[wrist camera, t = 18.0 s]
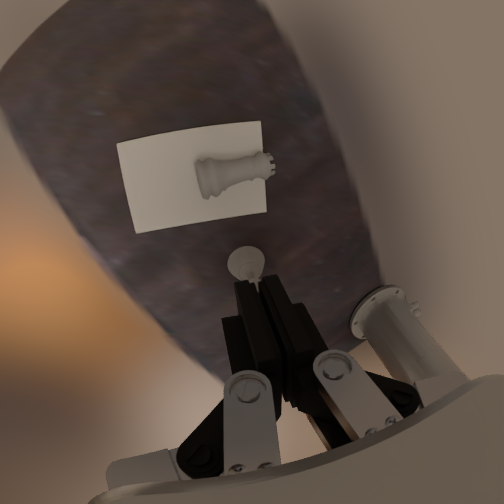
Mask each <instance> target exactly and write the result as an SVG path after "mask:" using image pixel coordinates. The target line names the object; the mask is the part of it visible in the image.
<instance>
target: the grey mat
mask: <svg viewBox="0 0 504 504" xmlns="http://www.w3.org/2000/svg"><path fill="white" fill-rule="evenodd" d="M117 150H118V155H119V161H120V166H121V171H122V176H123V181H124V185H125V190H126V194H127V199H128V203H129V207H130V211H131V215H132V219H133V223H134V227H135V231H136V234H137V233H142V232H147V231H153V230H158V229H164V228H169V227H175V226H181V225H186V224H192V223H198V222H204V221H210V220H216V219H222V218H229V217H235V216H242V215H248V214H255V213H262V212H267V210H266V193H265V180H264V179H261V178H255V179H254V180H253V181H250V180H247V181H243V182H240V183H238V184H235V185H232V186H230V187H229V188H227V189H226V191H222V193H221V194H220V195H219V196H218V197H214V196H212V195H211V196H210V198H209V200H206V199H203V198H202V195H201V192H200V188H199V185H198V181H197V177H196V172H195V166H194V163H195V162H196V161H197V160H198V159H199V160H200V161H202V162H204V160H205V159H206V158H212V159H214V160H220V161H229V160H239V159H243V158H245V157H246V156H248V157H254V156H255V155H256V154H257V153H258V152H259V151H260V152H263V146H262V132H261V121H250V122H239V123H229V124H220V125H212V126H205V127H198V128H191V129H185V130H179V131H173V132H168V133H162V134H157V135H152V136H147V137H143V138H138V139H134V140H129V141H125V142H121V143H117Z"/></svg>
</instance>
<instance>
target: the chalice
mask: <svg viewBox="0 0 504 504" xmlns="http://www.w3.org/2000/svg"><path fill="white" fill-rule="evenodd" d="M264 263H265V258H264V255H263V253H262V252H261V251H260V250H259V249H258V248H256V247H253V246H243V247H240V248H238V249H236V250H235V251H233V253H232V254H231V255H230V256H229V259H228V265H227V266H228V269H229V271H230V273H231V274H232V275H233V276H235V277H236V278H238V279H239V280H241V281H242V280H249V283H252V282H254V283H255V285H256V288H257V291H258V281H261V280H260V279H259V276H260V275H261V274H262V272H263V267H264ZM258 293H259V292H258Z"/></svg>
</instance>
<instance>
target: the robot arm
mask: <svg viewBox="0 0 504 504" xmlns="http://www.w3.org/2000/svg"><path fill="white" fill-rule="evenodd" d="M234 285H235V293H236V300H237V307H238V315H237V316H231V317H226V318H221V319H222V324H223V330H224V335H225V340H226V345H227V350H228V355H229V360H230V365H231V370H232V376H231V377H230V378H229V379H228V380H227V382H226V383H225V386H224V398H223V399H222V400H221V402H220V403H219V404H218V405H217V406H216V407H215V408H214V409H213V410H212V412H211V413H210V414H209V415H208V416H207V417H206V418H205V419H204V420H203V421H202V423H201V424H200V425H199V426H198V427H197V428H196V429H195V430H194V431H193V432H192V433H191V434H190V435H189V436H188V438H187V439H186V440H185V441H184V442H183V443H182V444H181V445H180V447H178V448H175V449H172V450H168V449H163V450H160V451H156V452H152V453H148V454H144V455H139V456H135V457H130V458H126V459H120V460H117V461H114V462H112V463H111V464H110V465H109V466H108V468H107V470H106V480H107V484H108V488H109V490H108V491H106V492H103V493H101V494H99V495H97V496H95V497H94V498H93V499H91V500H90V501H89V502H88V504H504V375H487V376H483V377H479V378H477V379H474V380H470V379H469V378H468V377H467V376H466V375H465V374H464V373H463V372H462V371H461V370H460V368H459V367H458V366H457V365H456V364H455V363H454V362H453V360H452V359H451V358H450V357H449V355H448V354H447V353H446V352H445V351H444V349H442V347H441V346H440V345H439V344H438V343H437V341H436V340H435V339H434V338H433V337H432V335H431V334H430V333H429V332H428V331H427V329H426V328H425V327H424V326H423V325H422V324H421V323H420V321H419V320H418V319H417V318H418V317H420V316H421V311H420V309H419V306H420V305H419V302H414V303H412V304H409V303H408V302H407V301H406V296H405V293H404V292H403V290H402V289H401V288H400V287H398V286H396V285H386V286H383V287H380V288H378V289H376V290H374V291H373V292H371V293H370V294H369V295H367V296H366V297H365V298H364V299H363V300H362V301H361V302H360V303H359V305H358V306H357V307H356V309H355V310H354V312H353V314H352V316H351V320H350V330H351V331H352V333H353V335H354V336H355V337H357V338H359V339H367V340H368V342H369V343H370V345H371V346H372V348H373V349H374V351H375V352H376V354H377V355H378V357H379V358H380V360H381V361H382V363H383V364H384V366H385V367H386V369H387V370H388V372H389V373H390V375H391V376H392V378H393V379H391V378H387V377H384V376H381V375H377V374H374V373H371V372H368V371H364V370H363V369H362V368H361V366H360V365H359V364H358V363H357V362H356V360H354V358H353V357H352V356H351V355H349V354H348V353H346V352H344V351H341V350H328V348H327V346H326V344H325V342H324V340H323V338H322V337H321V335H320V333H319V331H318V329H317V328H316V326H315V324H314V322H313V320H312V318H311V317H310V315H309V313H308V311H307V309H306V308H305V306H304V304H303V303H296V304H292V303H291V301H290V299H289V297H288V295H287V293H286V291H285V289H284V287H283V285H282V284H281V282H280V280H279V278H278V276H277V275H276V274H275V275H270V276H265V277H262V281H258V291H257V288H256V285H255V283H254V282H252V283H249V280H242V281H237V282H234ZM258 292H259V293H258ZM282 395H283V398H284V400H285V402H288V401H290V403H291V405H292V408H294V407H297V408H298V410H299V411H301V412H303V413H306V416H307V418H308V420H309V422H310V423H311V425H312V426H313V428H314V430H315V431H316V433H317V435H318V436H319V438H320V440H321V441H322V443H323V444H324V446H325V448H326V449H327V451H326V452H324V453H320V454H318V455H314V456H311V457H308V458H304V459H301V460H298V461H294V462H290V463H286V464H283V465H281V458H280V451H279V442H278V435H277V426H276V422H277V420H278V419H279V417H280V416H281V402H282Z"/></svg>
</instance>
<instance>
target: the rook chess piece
mask: <svg viewBox="0 0 504 504" xmlns="http://www.w3.org/2000/svg"><path fill="white" fill-rule="evenodd" d="M270 161H273V157H272V156H270V153H263V152H260V151H259V152H258V153H257V154H256V155H255V156H254V157H248V156H246V157H245V158H243V159H239V160H229V161H220V160H214V159H212V158H206V159H205V160H204V162H202V161H200V160H199V159H198V160H197V161H196V162H195V163H194V166H195V172H196V177H197V181H198V185H199V188H200V192H201V195H202V198H203V199H206V200H209V198H210V196H211V195H212V196H214V197H218V196H219V195H220V194H221V193H222V191H226V189H227V188H229V187H230V186H232V185H235V184H238V183H240V182H243V181H247V180H250V181H253V180H254V179H255V178H261V179H264V180H267V179H268V178H269V176H271V175H274V174H275V171H274V170H272V171H271V169H274V168H275V164H270Z"/></svg>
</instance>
